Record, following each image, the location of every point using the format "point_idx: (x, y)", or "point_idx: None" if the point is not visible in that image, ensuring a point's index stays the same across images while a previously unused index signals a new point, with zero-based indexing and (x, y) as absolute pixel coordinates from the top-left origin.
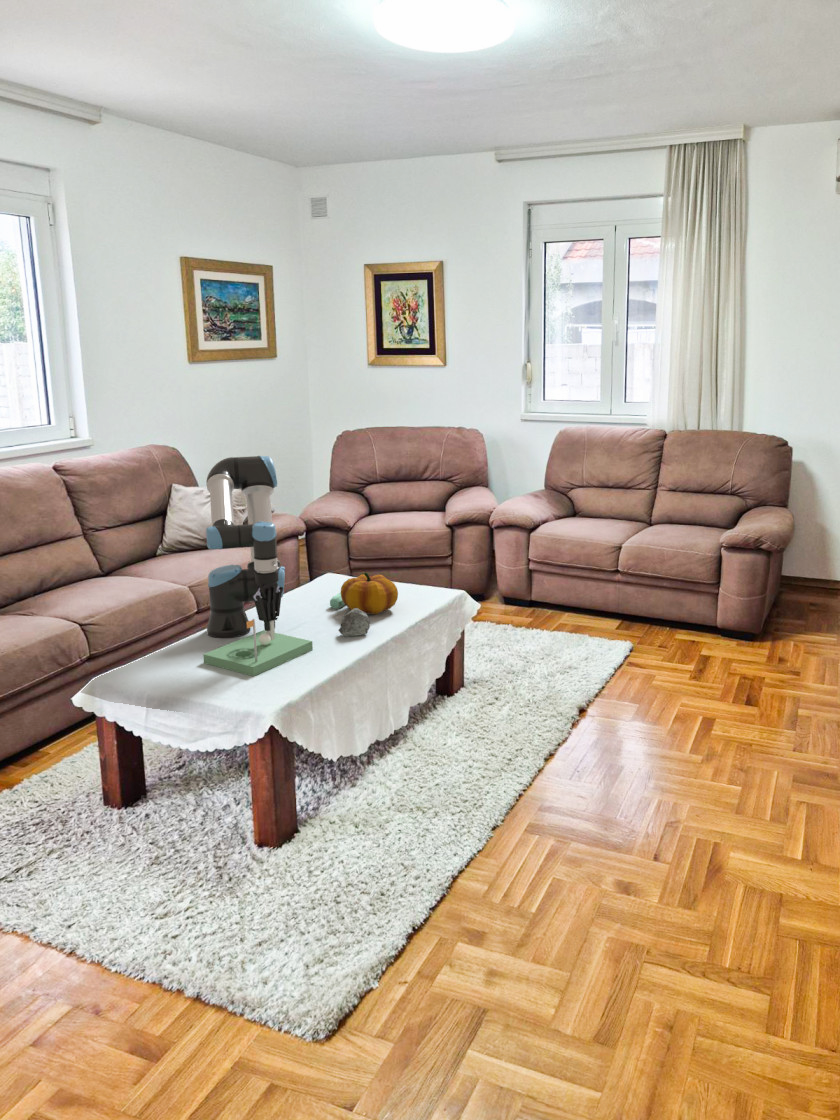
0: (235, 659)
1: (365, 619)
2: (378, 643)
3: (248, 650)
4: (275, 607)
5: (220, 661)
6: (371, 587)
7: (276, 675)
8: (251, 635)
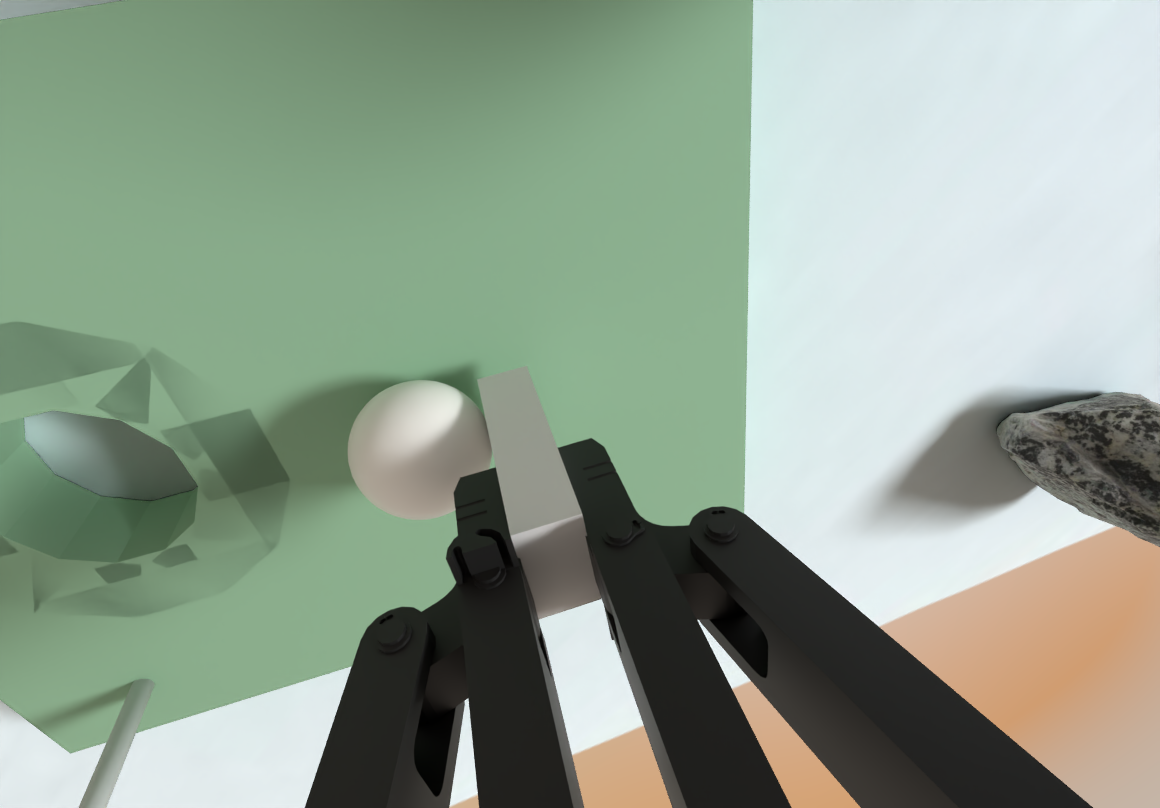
0: None
1: (1151, 542)
2: (945, 596)
3: (185, 440)
4: (782, 688)
5: None
6: None
7: (263, 716)
8: None
